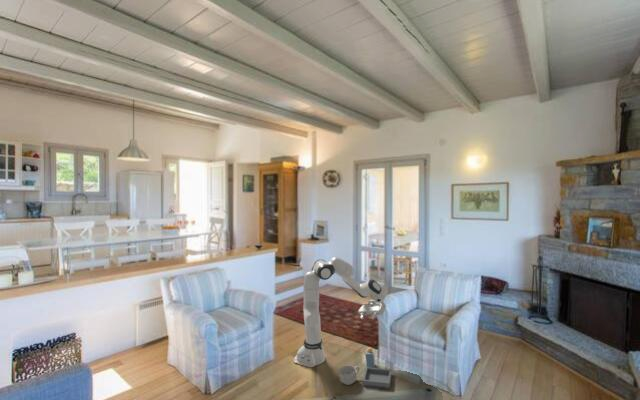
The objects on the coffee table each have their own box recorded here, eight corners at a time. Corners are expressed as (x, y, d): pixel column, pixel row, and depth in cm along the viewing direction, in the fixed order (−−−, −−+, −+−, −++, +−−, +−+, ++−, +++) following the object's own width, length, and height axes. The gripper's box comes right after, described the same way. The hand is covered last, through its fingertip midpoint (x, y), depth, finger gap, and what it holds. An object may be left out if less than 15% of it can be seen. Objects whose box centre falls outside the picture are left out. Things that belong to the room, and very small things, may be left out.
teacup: (343, 389, 192) (342, 376, 192) (337, 378, 203) (336, 366, 202) (364, 383, 196) (363, 371, 195) (357, 373, 206) (356, 361, 206)
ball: (367, 353, 211) (367, 348, 211) (368, 350, 214) (367, 346, 214) (371, 353, 210) (371, 349, 210) (372, 351, 213) (372, 346, 213)
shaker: (366, 368, 211) (365, 353, 211) (367, 363, 216) (366, 349, 215) (374, 368, 210) (373, 353, 209) (375, 364, 215) (374, 349, 214)
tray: (363, 386, 193) (362, 380, 193) (366, 372, 207) (366, 367, 207) (389, 388, 189) (389, 383, 189) (391, 374, 202) (391, 369, 202)
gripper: (361, 301, 234) (353, 315, 224) (383, 299, 219) (376, 314, 210) (365, 307, 235) (357, 322, 225) (388, 306, 221) (380, 321, 211)
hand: (366, 318), depth 217 cm, fingers open, 8 cm apart
